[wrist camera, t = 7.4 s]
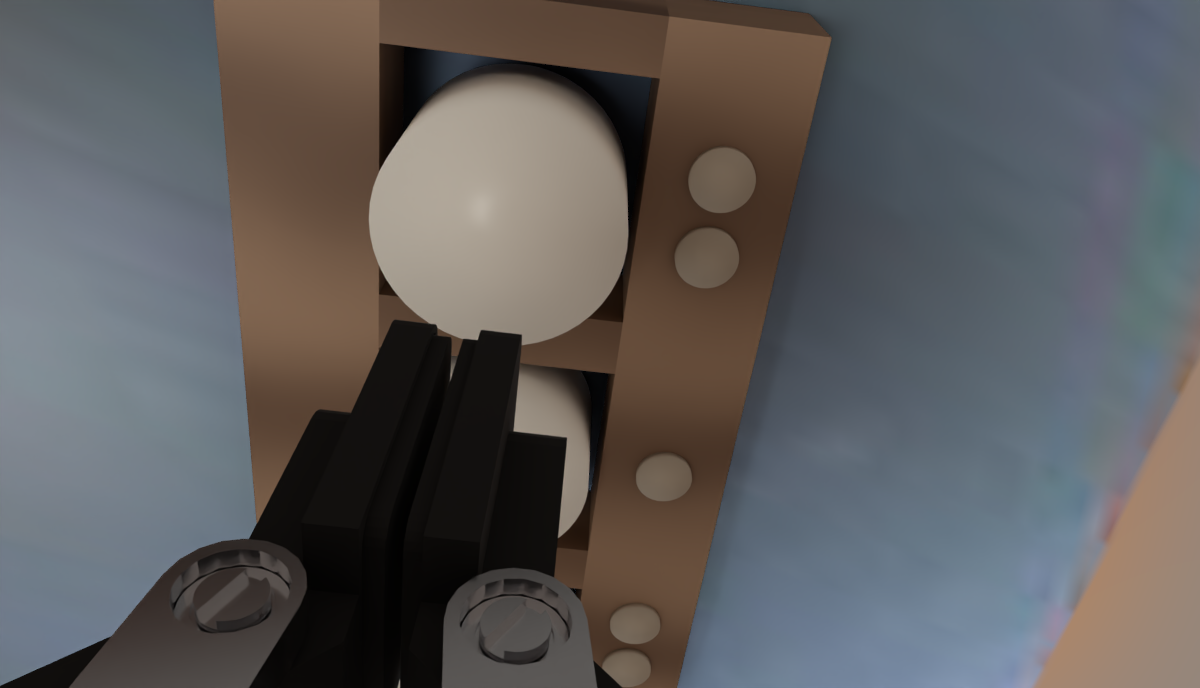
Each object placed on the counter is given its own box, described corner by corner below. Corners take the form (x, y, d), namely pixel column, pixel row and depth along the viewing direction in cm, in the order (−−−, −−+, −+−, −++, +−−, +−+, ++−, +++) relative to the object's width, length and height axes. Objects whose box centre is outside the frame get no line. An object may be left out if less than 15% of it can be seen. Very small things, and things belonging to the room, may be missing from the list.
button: (581, 488, 27) (576, 567, 24) (406, 469, 26) (381, 547, 24) (602, 337, 24) (600, 405, 21) (409, 315, 24) (381, 381, 21)
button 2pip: (612, 290, 22) (611, 358, 19) (401, 265, 22) (369, 331, 19) (642, 79, 20) (645, 123, 17) (404, 49, 19) (368, 88, 17)
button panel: (657, 692, 31) (660, 763, 29) (297, 656, 31) (270, 727, 28) (808, 13, 20) (833, 39, 18) (255, -60, 20) (206, -42, 17)
